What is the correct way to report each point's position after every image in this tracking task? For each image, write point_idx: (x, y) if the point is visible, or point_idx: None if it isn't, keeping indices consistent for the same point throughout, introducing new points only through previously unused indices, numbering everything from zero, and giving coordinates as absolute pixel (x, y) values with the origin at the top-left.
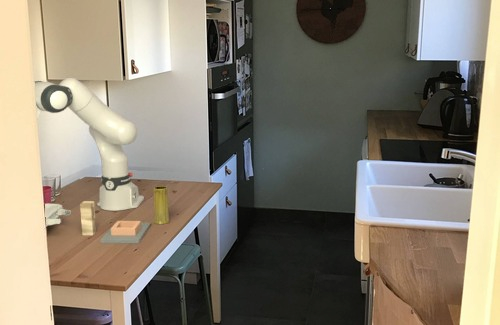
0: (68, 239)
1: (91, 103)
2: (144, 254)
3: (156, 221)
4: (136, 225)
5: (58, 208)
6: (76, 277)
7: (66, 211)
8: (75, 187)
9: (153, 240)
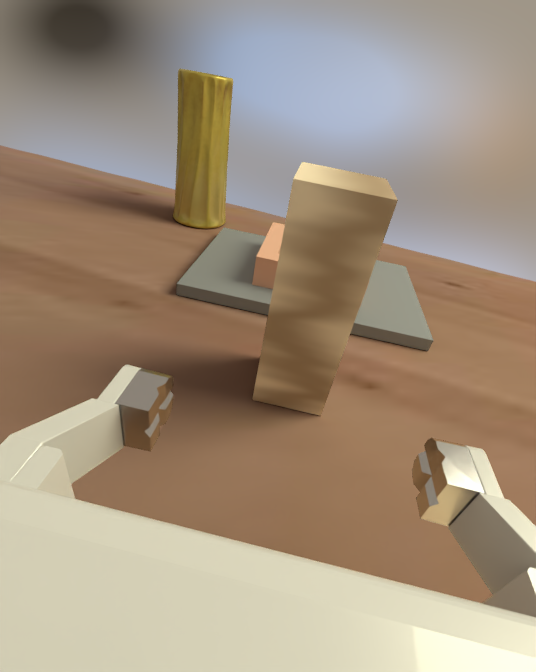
0: (411, 493)
1: None
2: (481, 277)
3: (214, 219)
4: None
5: (10, 482)
6: None
7: (160, 395)
8: None
9: None
